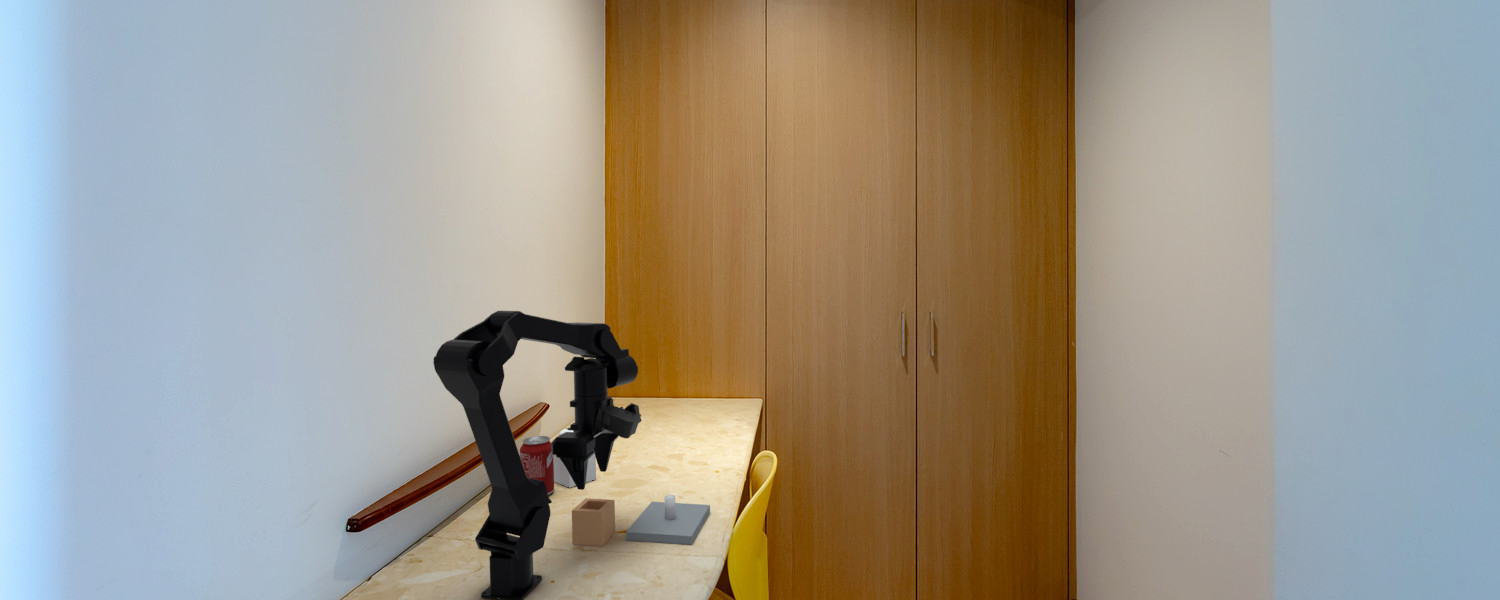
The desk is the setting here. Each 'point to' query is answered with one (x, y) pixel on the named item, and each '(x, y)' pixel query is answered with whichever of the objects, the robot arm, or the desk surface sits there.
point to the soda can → (538, 460)
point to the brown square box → (593, 522)
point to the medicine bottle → (562, 473)
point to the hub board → (669, 522)
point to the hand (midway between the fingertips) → (592, 479)
